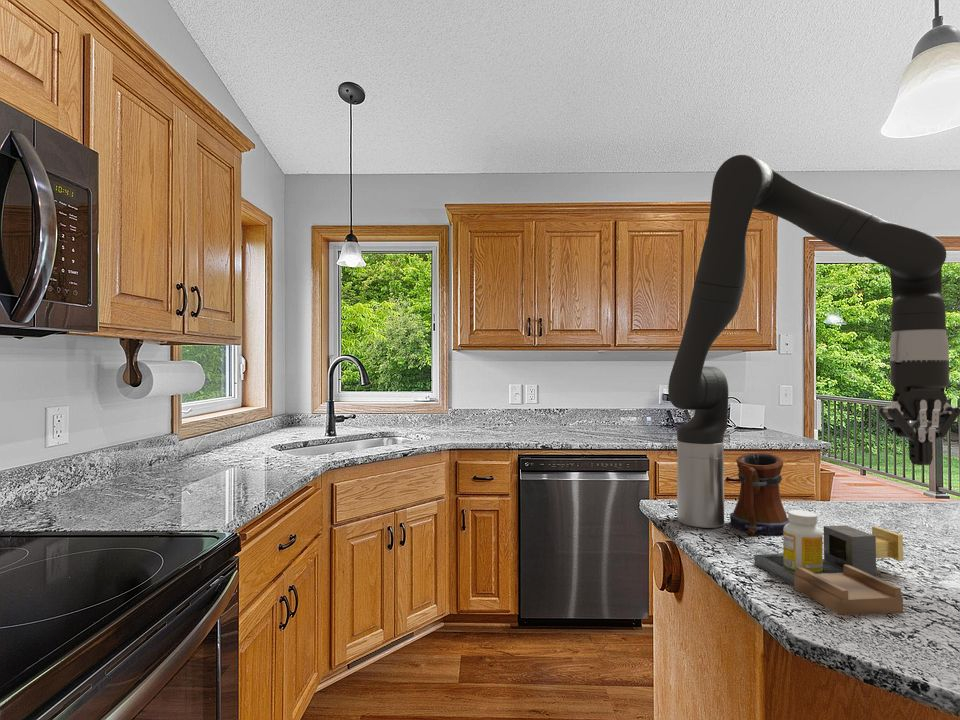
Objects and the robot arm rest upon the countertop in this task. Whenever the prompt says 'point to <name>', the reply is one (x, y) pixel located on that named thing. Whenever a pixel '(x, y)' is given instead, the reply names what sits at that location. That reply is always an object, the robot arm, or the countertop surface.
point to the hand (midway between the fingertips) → (920, 464)
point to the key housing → (850, 548)
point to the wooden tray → (849, 591)
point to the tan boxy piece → (888, 544)
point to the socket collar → (773, 566)
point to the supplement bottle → (802, 542)
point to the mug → (759, 495)
